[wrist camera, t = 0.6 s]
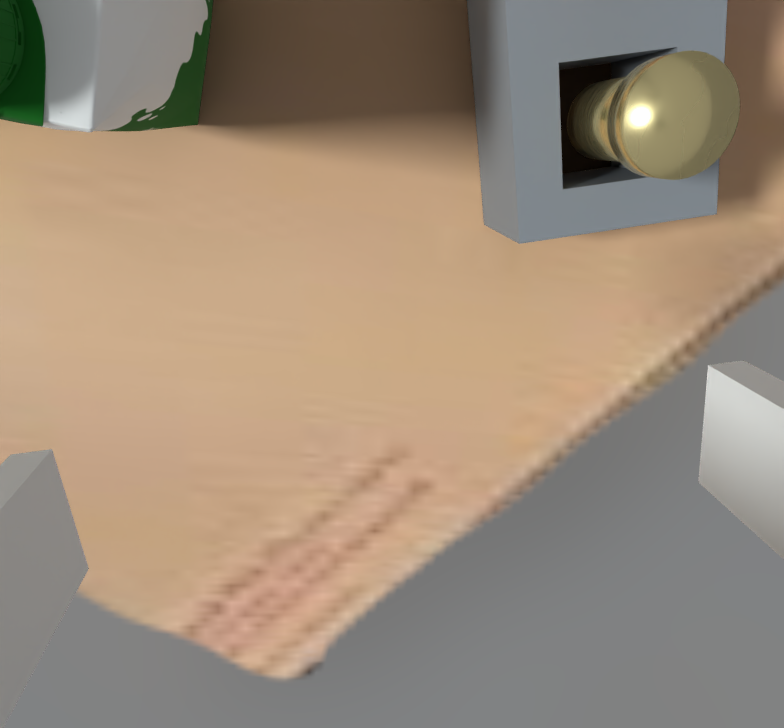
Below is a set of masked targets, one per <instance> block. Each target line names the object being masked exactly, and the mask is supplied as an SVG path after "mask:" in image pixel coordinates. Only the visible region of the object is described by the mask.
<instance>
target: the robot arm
mask: <svg viewBox="0 0 784 728" xmlns="http://www.w3.org/2000/svg"><path fill="white" fill-rule="evenodd" d="M699 483H700V484H701V485H702V486H703V487H704V488H705V489H707V490H708V491H709V492H710V493H711V494H712V495H713V496H714V497H715V498H716V499H718V500H719V501H720V502H721V503H722V504H723V505H724V506H725V507H727V508H728V509H729V510H730V511H731V512H732V513H733V514H734V515H735V516H736V517H737V518H739V519H740V520H741V521H742V522H743V523H744V524H745V525H746V526H747V527H749V528H750V529H751V530H752V531H753V532H754V533H755V534H756V535H757V536H758V537H759V538H761V539H762V540H763V541H764V542H765V543H766V544H767V545H768V546H770V547H771V548H772V549H773V550H774V551H775V552H776V553H777V554H778V555H779V556H780V557H782V558H783V559H784V381H781V380H780V379H778V378H776V377H774V376H772V375H770V374H768V373H766V372H764V371H763V370H761V369H759V368H757V367H755V366H753V365H751V364H749V363H747V362H745V361H737V362H729V363H721V364H713V365H708V374H707V387H706V398H705V410H704V422H703V434H702V446H701V458H700V470H699ZM88 569H89V568H88V565H87V561H86V558H85V555H84V552H83V548H82V545H81V542H80V539H79V535H78V532H77V529H76V526H75V522H74V519H73V516H72V513H71V509H70V506H69V503H68V500H67V496H66V493H65V490H64V487H63V483H62V480H61V477H60V474H59V470H58V467H57V464H56V461H55V457H54V454H53V451H52V449H51V450H43V451H35V452H27V453H19V454H12V455H10V456H9V457H8V458H7V459H6V460H5V461H4V462H3V463H2V464H1V465H0V728H4V726H5V724H6V722H7V720H8V718H9V716H10V715H11V712H12V711H13V709H14V707H15V705H16V703H17V702H18V699H19V697H20V696H21V694H22V692H23V690H24V688H25V687H26V685H27V683H28V681H29V679H30V677H31V675H32V673H33V671H34V670H35V668H36V666H37V664H38V662H39V660H40V659H41V657H42V655H43V653H44V651H45V649H46V647H47V645H48V644H49V642H50V640H51V638H52V636H53V634H54V632H55V630H56V628H57V627H58V625H59V623H60V621H61V619H62V617H63V616H64V614H65V612H66V610H67V608H68V606H69V604H70V602H71V600H72V599H73V597H74V595H75V593H76V591H77V589H78V587H79V586H80V584H81V582H82V580H83V578H84V576H85V574H86V573H87V571H88Z"/></svg>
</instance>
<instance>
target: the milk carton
mask: <svg viewBox="0 0 784 728" xmlns="http://www.w3.org/2000/svg"><path fill="white" fill-rule="evenodd" d="M212 7H213V0H0V119H3V120H8V121H13V122H18V123H23V124H29V125H35V126H41V127H47V128H52V129H58V130H70V131H82V132H93V131H145V130H154V129H163V128H172V127H181V126H190V125H198V119H199V111H200V103H201V96H202V88H203V81H204V73H205V66H206V59H207V51H208V44H209V36H210V28H211V19H212Z"/></svg>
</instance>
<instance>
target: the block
mask: <svg viewBox="0 0 784 728" xmlns="http://www.w3.org/2000/svg"><path fill="white" fill-rule="evenodd" d="M467 8H468V21H469V34H470V47H471V60H472V73H473V86H474V100H475V113H476V126H477V139H478V152H479V165H480V178H481V191H482V204H483V217H484V225H486V226H488V227H489V228H491V229H493V230H495V231H497V232H499V233H501V234H502V235H504V236H506V237H508V238H510V239H512V240H513V241H515V242H517V243H519V244H521V243H527V242H534V241H541V240H547V239H554V238H561V237H567V236H574V235H581V234H587V233H594V232H601V231H607V230H614V229H621V228H627V227H634V226H641V225H647V224H654V223H661V222H667V221H674V220H681V219H687V218H694V217H701V216H707V215H714V214H717V197H718V177H719V158H718V159H717V160H716V161H715V162H714V163H713V164H712V165H711V166H710V167H708V168H707V169H705V170H704V171H702V172H700V173H698V174H696V175H694V176H691V177H689V178H685V179H679V180H667V179H659V178H651V177H645V176H641V175H638V174H635V173H633V172H632V171H630V170H628V169H627V168H626V167H625V166H623V165H622V163H621V162H617V161H611V167H604V168H597V169H590V170H583V171H576V172H570V173H563V174H562V150H561V119H560V89H559V70H563V69H571V68H578V67H586V66H593V65H601V64H608V63H611V79H615V78H621V77H626V76H627V75H628V74H629V73H630V72H631V71H632V70H634V69H635V68H636V67H637V66H639V65H640V64H642V63H644V62H646V61H647V60H650V59H652V58H655V57H659V56H663V55H668V54H672V53H676V52H681V51H690V50H693V51H701V52H705V53H708V54H710V55H713V56H715V57H716V58H718V59H719V60H720V61H722V62H723V63H724V58H725V38H726V18H727V0H467Z"/></svg>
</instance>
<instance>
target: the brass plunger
mask: <svg viewBox="0 0 784 728" xmlns="http://www.w3.org/2000/svg"><path fill="white" fill-rule="evenodd" d="M739 113H740V97H739V91H738V87H737V84H736V81H735V79H734V77H733V75H732V73H731V71H730V70H729V69H728V68H727V66H726V65H725V64H724V63H723V62H722V61H720V60H719V59H718V58H716V57H715V56H713V55H710V54H708V53H705V52H701V51H693V50H690V51H681V52H676V53H672V54H668V55H663V56H659V57H655V58H652V59H650V60H647V61H646V62H644V63H642V64H640V65H639V66H637V67H636V68H635V69H634V70H632V71H631V72H630V73H629V74H628V75H627V76H626V77H621V78H615V79H610V80H605V81H600V82H596V83H593V84H591V85H589V86H587V87H586V88H584V89H583V90H582V91H581V92H580V93H579V94H578V95H577V96H576V98H575V99H574V101H573V102H572V104H571V106H570V109H569V112H568V116H567V133H568V137H569V140H570V142H571V144H572V146H573V147H574V148H575V149H576V151H577V152H579V153H580V154H581V155H583V156H585V157H587V158H590V159H595V160H606V161H617V162H621V163H622V165H623V166H625V167H626V168H627V169H628V170H630V171H632V172H633V173H635V174H638V175H641V176H645V177H651V178H659V179H667V180H679V179H685V178H689V177H691V176H694V175H696V174H698V173H700V172H702V171H704V170H705V169H707V168H708V167H710V166H711V165H712V164H713V163H714V162H715V161H716V160H717V159H718V158H719V157H720V156H721V155H722V154H723V152H724V151H725V150H726V148H727V147H728V145H729V143H730V142H731V140H732V138H733V135H734V133H735V130H736V127H737V124H738V119H739Z"/></svg>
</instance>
